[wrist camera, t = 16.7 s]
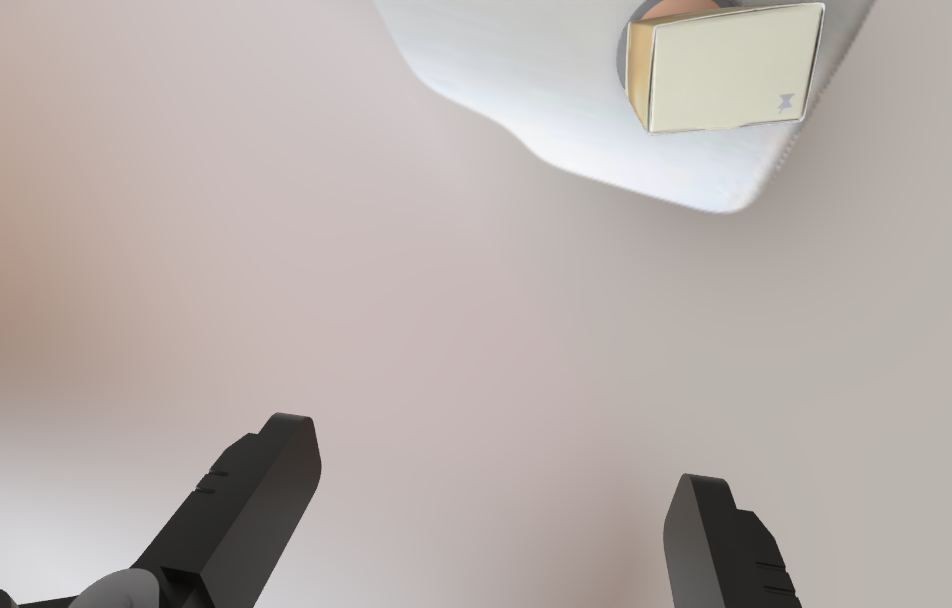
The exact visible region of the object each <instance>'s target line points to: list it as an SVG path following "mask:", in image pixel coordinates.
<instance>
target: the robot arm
mask: <svg viewBox="0 0 952 608" xmlns="http://www.w3.org/2000/svg"><path fill="white" fill-rule="evenodd" d="M320 475H321V459H320V454H319V448H318V443H317V439H316V434H315V428H314V424H313V420H312V419H311V418H310V417H306V416H299V415H292V414H285V413H275V414H274V415H272V416H271V418H270V419H269V420H268V421H267V423H266V424H265V425H264V427H263V428H262V429H261V431H260V432H259V433H258V434H253V433H248V434H246V435H245V436H243V437H242V438H241V439H239V440H238V441H236V442H235V443H234V444H232V445H231V446H229V447H228V448H227V449H226V450H225V451H224V452H223V453H222V455H221V456H220V457H219V458H218V460H217V461H216V462H215V463H214V465H213V466H212V467H211V469H210V471H209V473H208V474H206V475H205V476H204V477H203V478H202V480H201V481H200V482H199V483H198V485H197V486H196V489H195V491H192V492H191V493H190V495H189V496H188V497H187V499H186V500H185V501H184V502H183V503H182V505H181V506H180V507H179V509H178V510H177V511H176V512H175V514H174V515H173V516H172V517H171V519H170V520H169V521H168V522H167V524H166V525H165V526H164V527H163V529H162V530H161V531H160V533H159V534H158V535H157V536H156V537H155V539H154V540H153V541H152V542H151V544H150V545H149V546H148V547H147V549H146V550H145V551H144V553H143V554H142V555H141V556H140V557H139V559H138V560H137V561H136V562H135V563H134V564H133V565H132V566H131V567H130V568H129V569H125V570H121V571H117V572H114V573H112V574H109V575H107V576H105V577H103V578H101V579H100V580H98V581H96V582H95V583H93V584H92V585H91V586H89V587H88V588H87V589H85V590H84V591H83V592H82V593H81V594H80V595H77V596H73V597H67V598H60V599H54V600H48V601H41V602H35V603H28V604H21V605H17V604H16V603H15V602H14V601H13V599H12V598H11V597H10V596H9V595H8V594H7V593H6V592H5V591H3V590H1V589H0V608H253V607H254V605H255V603H256V601H257V599H258V597H259V596H260V594H261V592H262V590H263V588H264V586H265V584H266V583H267V580H268V579H269V577H270V575H271V573H272V571H273V569H274V568H275V566H276V564H277V562H278V560H279V558H280V556H281V555H282V552H283V551H284V549H285V547H286V545H287V543H288V541H289V540H290V538H291V536H292V534H293V532H294V530H295V528H296V526H297V525H298V523H299V521H300V519H301V517H302V515H303V513H304V511H305V510H306V508H307V506H308V504H309V502H310V500H311V498H312V497H313V495H314V493H315V491H316V489H317V486H318V483H319V480H320ZM663 535H664V536H663V537H664V538H663V540H664V551H665V556H666V562H667V568H668V573H669V579H670V584H671V590H672V595H673V601H674V606H675V608H802V606H801V604H800V601H799V599H798V597H796V596H795V589H794V586H793V584H792V581H791V579H790V576H789V574H788V573H787V572H786V570H785V567H786V566H785V564H784V561H783V559H782V556H781V554H780V551H779V549H778V546H777V544H776V541H775V539H774V537H773V536H772V534H771V533H770V532H769V531H768V530H767V528H766V527H765V526H764V525H763V523H762V522H761V521H760V520H759V518H758V517H757V516H756V515H755V513H754V512H752V511H746V510H739V509H737V508H736V505H735V502H734V499H733V496H732V494H731V490H730V488H729V485H728V484H727V482H726V481H725V480H724V479H720V478H714V477H707V476H699V475H693V474H686V473H685V474H683V475H682V476H681V478H680V481H679V484H678V486H677V489H676V492H675V494H674V497H673V500H672V502H671V505H670V508H669V510H668V513H667V516H666V519H665V523H664V533H663Z"/></svg>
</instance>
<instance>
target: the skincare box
mask: <svg viewBox="0 0 952 608" xmlns="http://www.w3.org/2000/svg"><path fill="white" fill-rule="evenodd" d="M825 9H826V4H825V3H823V2H809V3H796V4H785V5H766V6H746V7H728V8H718V9H708V10H700V11H692V12H684V13H676V14H670V15H664V16H659V17H653V18H647V19H641V20H636V21H630V22H629V23H628V33H627V51H626V79H625V93H626V96H627V98H628V99H629V101H630V103H631V105H632V107H633V109H634V111H635V113H636V114H637V116H638V118H639V120H640V122H641V124H642V126H643V127H644V129H645V131H646V133H647V134H649V135H652V136H653V135H663V134H676V133H688V132H698V131H712V130H722V129H732V128H742V127H752V126H763V125H774V124H783V123H794V122H801V121H803V120H804V117H805V113H806V107H807V103H808V99H809V95H810V89H811V85H812V81H813V76H814V71H815V66H816V61H817V56H818V51H819V46H820V41H821V35H822V29H823V21H824V15H825Z"/></svg>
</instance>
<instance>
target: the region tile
mask: <svg viewBox="0 0 952 608" xmlns="http://www.w3.org/2000/svg"><path fill="white" fill-rule="evenodd" d="M728 7H732V5H731V4H730V3H729V1H728V0H646V1H645V2H644V3H643V4H642V5H641V6H640V7H639V8H638V9H637V10H636V11H635V12H634V13H633V15H632V16H631V17H630V19H629V21H628V22H627V24H626V26H625V28H624V30H623V32H622V35H621V37H620V40H619V44H618V49H617V71H618V76H619V79H620V82H621V84H622V86H623V88H624V90H625V79H626V51H627V33H628V23H629V22H630V21H636V20H641V19H647V18H653V17H659V16H664V15H670V14H676V13H684V12H692V11H700V10H708V9H718V8H728Z"/></svg>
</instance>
